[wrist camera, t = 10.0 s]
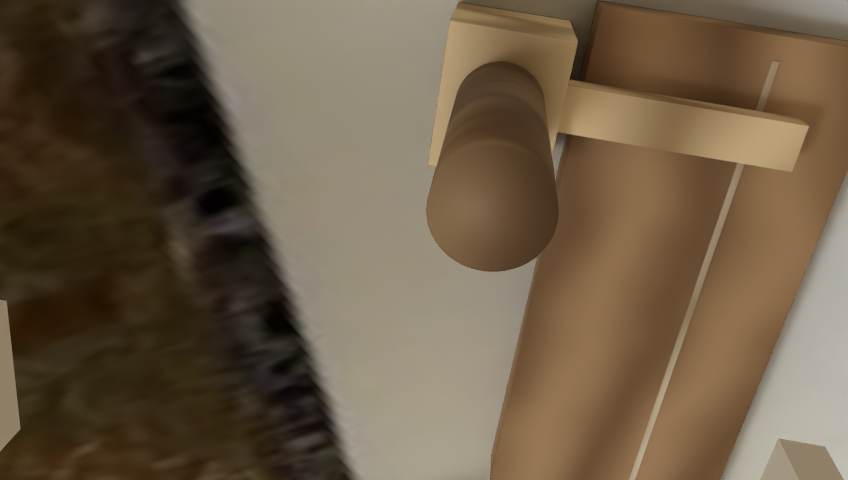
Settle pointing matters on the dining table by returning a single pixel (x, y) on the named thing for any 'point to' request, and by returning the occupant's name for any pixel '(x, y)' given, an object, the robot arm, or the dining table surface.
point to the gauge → (552, 133)
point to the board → (670, 258)
